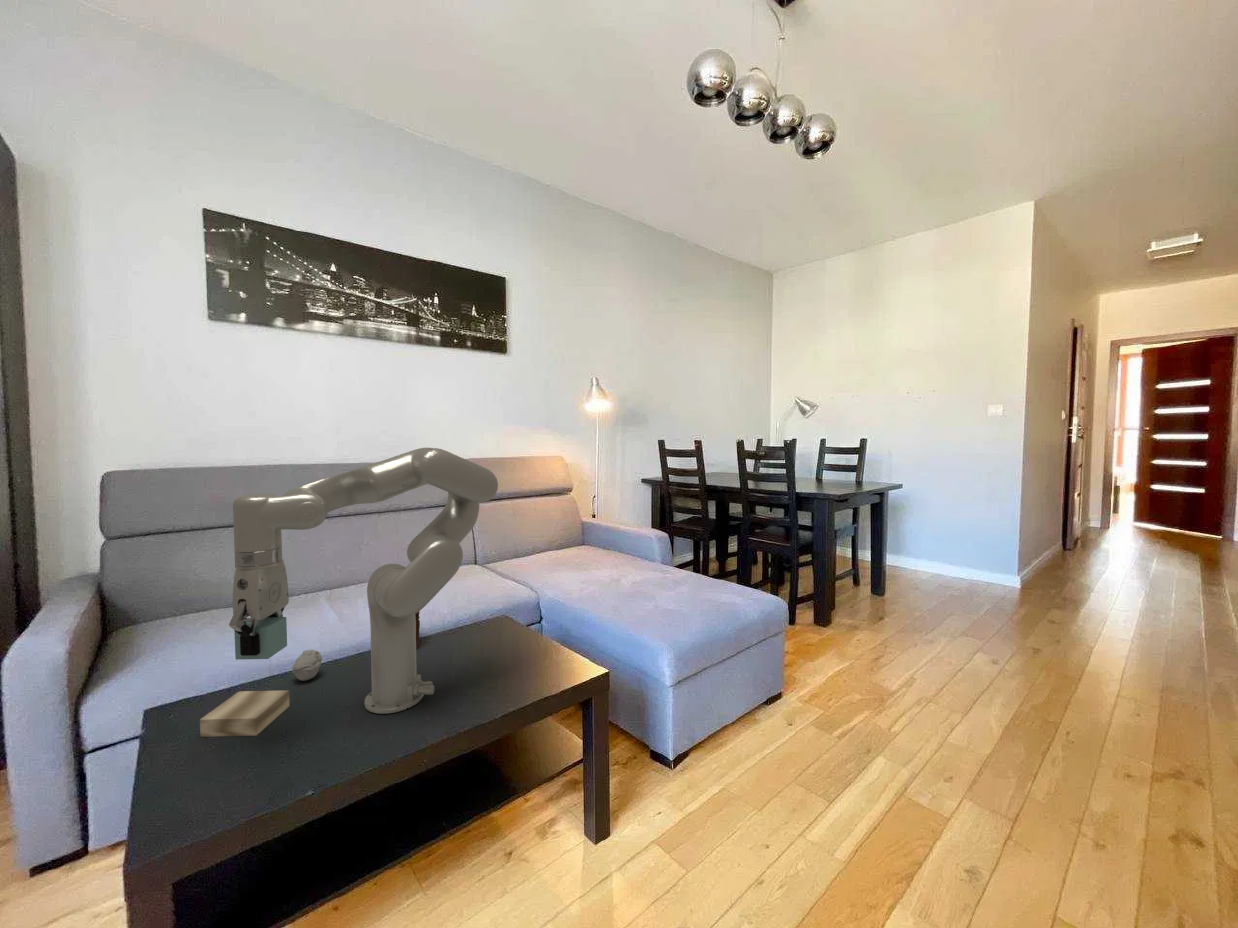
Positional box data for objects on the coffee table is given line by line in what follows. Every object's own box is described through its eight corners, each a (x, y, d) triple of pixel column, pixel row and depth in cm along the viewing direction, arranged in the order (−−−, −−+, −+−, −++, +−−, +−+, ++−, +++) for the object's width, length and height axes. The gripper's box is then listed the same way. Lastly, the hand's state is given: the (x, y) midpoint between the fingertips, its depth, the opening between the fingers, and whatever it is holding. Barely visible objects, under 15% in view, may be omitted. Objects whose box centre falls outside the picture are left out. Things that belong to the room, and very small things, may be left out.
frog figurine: (328, 672, 127) (327, 646, 127) (309, 686, 120) (308, 658, 120) (306, 671, 128) (305, 645, 127) (285, 685, 121) (284, 657, 120)
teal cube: (287, 645, 101) (286, 616, 100) (268, 658, 95) (267, 628, 94) (256, 646, 100) (255, 617, 100) (235, 659, 94) (234, 628, 94)
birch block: (289, 707, 112) (289, 690, 112) (256, 737, 101) (255, 718, 101) (239, 708, 111) (238, 691, 111) (200, 738, 100) (199, 719, 100)
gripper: (248, 569, 88) (251, 667, 89) (304, 547, 105) (306, 629, 106) (204, 569, 88) (208, 668, 89) (267, 547, 105) (270, 630, 106)
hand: (262, 646), depth 97 cm, fingers closed on teal cube, 6 cm apart
